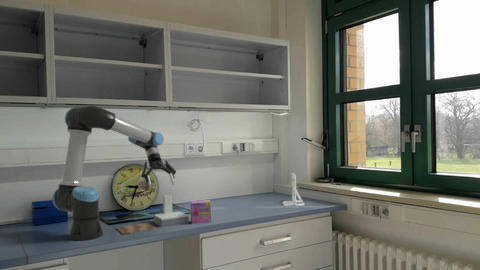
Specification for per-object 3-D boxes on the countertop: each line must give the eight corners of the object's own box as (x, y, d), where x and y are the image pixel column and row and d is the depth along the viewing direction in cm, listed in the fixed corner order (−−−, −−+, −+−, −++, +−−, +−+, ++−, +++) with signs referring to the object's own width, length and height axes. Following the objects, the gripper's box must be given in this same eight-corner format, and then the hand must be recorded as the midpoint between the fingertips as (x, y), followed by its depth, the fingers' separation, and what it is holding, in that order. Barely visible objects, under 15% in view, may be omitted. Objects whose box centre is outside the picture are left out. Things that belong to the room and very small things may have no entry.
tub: (161, 228, 196) (161, 220, 196) (153, 223, 206) (153, 216, 206) (188, 223, 204) (188, 216, 204) (180, 219, 214) (179, 212, 214)
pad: (123, 234, 184) (123, 233, 184) (116, 228, 196) (116, 227, 196) (156, 229, 193) (156, 228, 193) (148, 223, 205) (148, 222, 205)
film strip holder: (281, 202, 261) (281, 173, 261) (301, 201, 261) (301, 172, 261) (284, 206, 247) (283, 175, 247) (305, 205, 247) (304, 175, 247)
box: (192, 225, 201) (191, 202, 201) (190, 222, 207) (190, 201, 207) (211, 223, 204) (211, 201, 204) (209, 221, 209) (209, 199, 209)
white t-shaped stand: (161, 220, 196) (161, 199, 196) (154, 216, 206) (154, 196, 206) (187, 216, 204) (187, 196, 204) (179, 212, 214) (179, 193, 213)
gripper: (172, 159, 238) (181, 186, 225) (132, 162, 226) (139, 190, 213) (174, 151, 233) (184, 178, 220) (133, 153, 221) (141, 182, 208)
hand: (162, 184), depth 217 cm, fingers open, 13 cm apart
